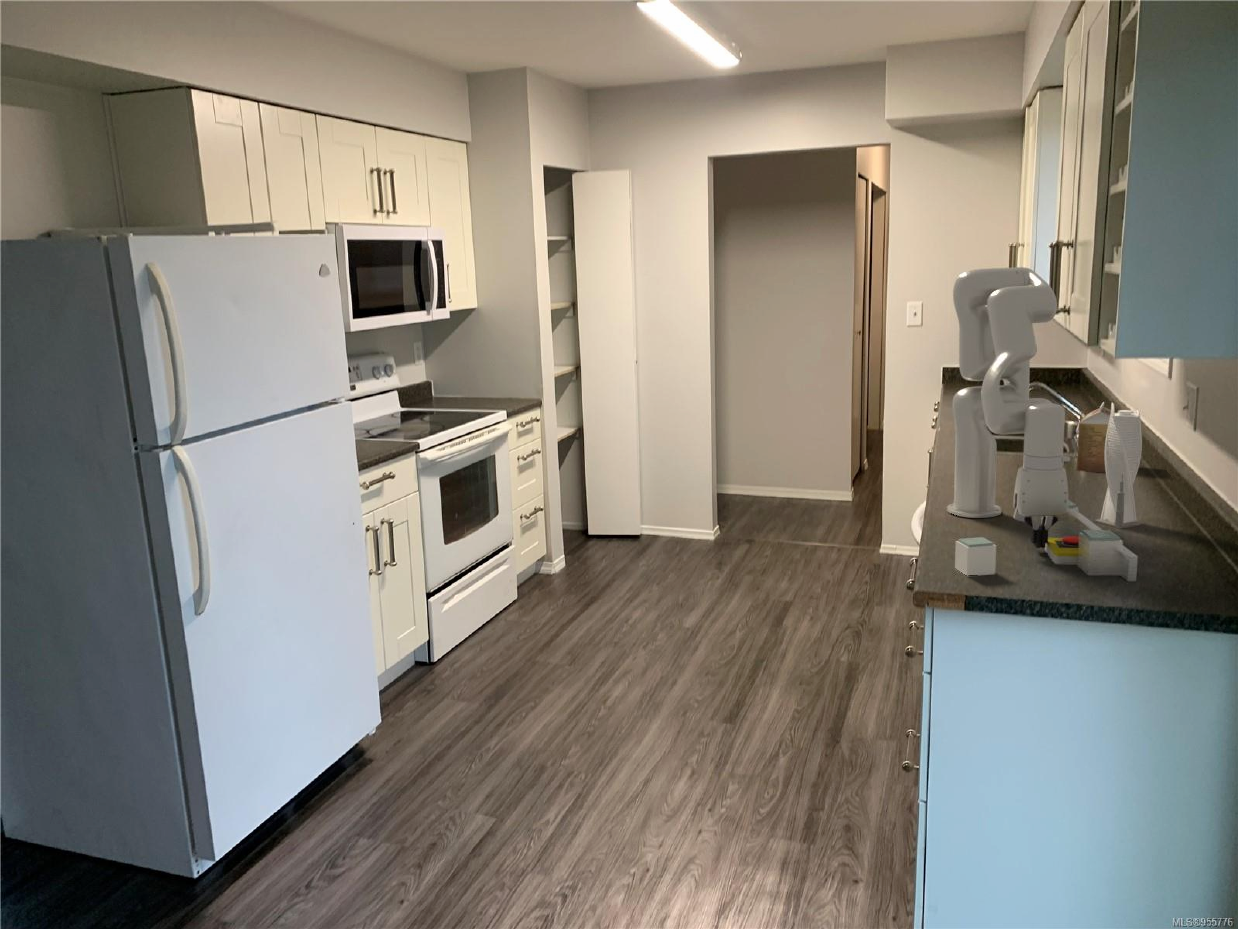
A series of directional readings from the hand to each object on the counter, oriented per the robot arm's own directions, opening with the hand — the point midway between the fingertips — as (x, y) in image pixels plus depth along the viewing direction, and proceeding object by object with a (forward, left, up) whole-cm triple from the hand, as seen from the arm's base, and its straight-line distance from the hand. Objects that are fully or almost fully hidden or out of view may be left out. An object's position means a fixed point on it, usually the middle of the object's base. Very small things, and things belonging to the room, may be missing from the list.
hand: (1039, 546), depth 193 cm
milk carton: (-82, +40, -2) cm, 92 cm away
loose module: (+13, -16, -1) cm, 20 cm away
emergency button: (+3, +6, -2) cm, 7 cm away
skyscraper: (-23, +24, -2) cm, 34 cm away
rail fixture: (0, +9, -1) cm, 9 cm away
